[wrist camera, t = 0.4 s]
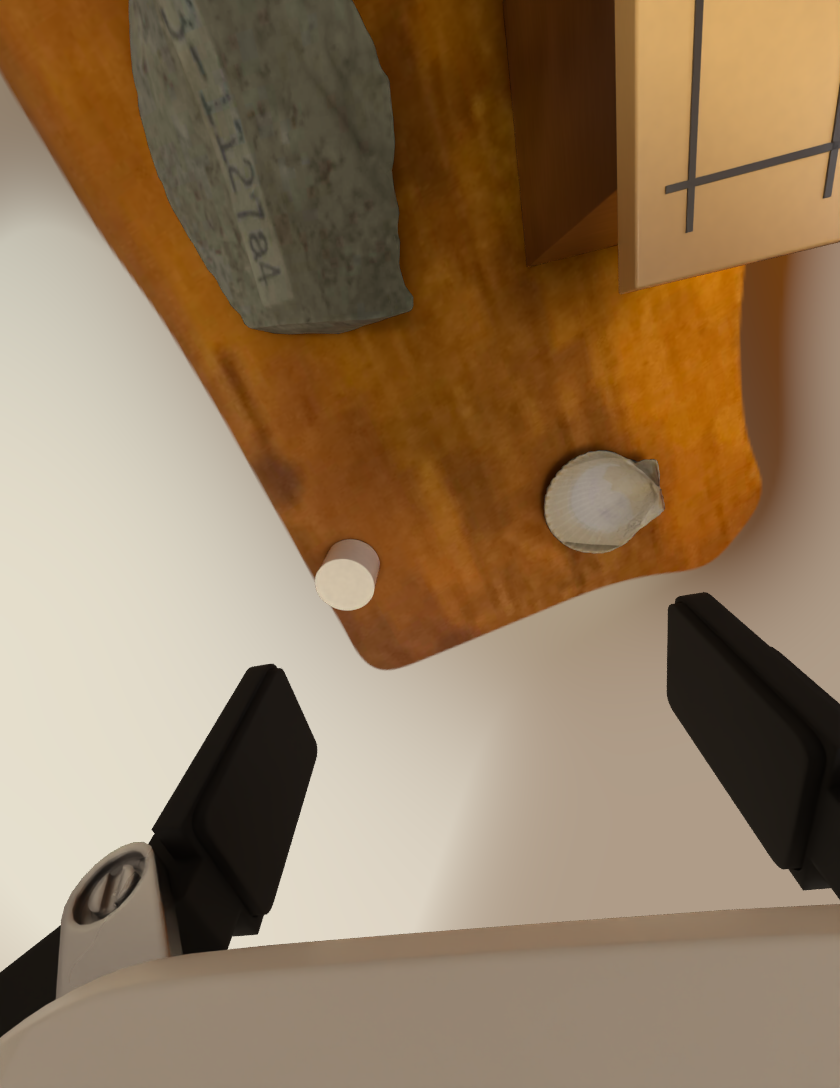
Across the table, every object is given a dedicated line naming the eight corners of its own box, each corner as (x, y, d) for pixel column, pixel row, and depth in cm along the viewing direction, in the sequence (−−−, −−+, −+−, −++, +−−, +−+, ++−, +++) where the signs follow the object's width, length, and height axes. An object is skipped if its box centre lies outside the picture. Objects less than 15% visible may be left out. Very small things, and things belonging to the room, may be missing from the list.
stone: (35, -28, 20) (262, -355, 14) (116, 18, 24) (327, -224, 17) (234, 382, 28) (439, 297, 22) (273, 372, 32) (459, 296, 25)
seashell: (534, 461, 33) (552, 557, 34) (534, 463, 30) (554, 568, 32) (649, 435, 31) (663, 540, 32) (661, 435, 28) (676, 550, 29)
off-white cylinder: (318, 544, 35) (306, 564, 31) (372, 534, 34) (365, 554, 31) (334, 591, 37) (325, 614, 33) (385, 582, 36) (380, 605, 33)
